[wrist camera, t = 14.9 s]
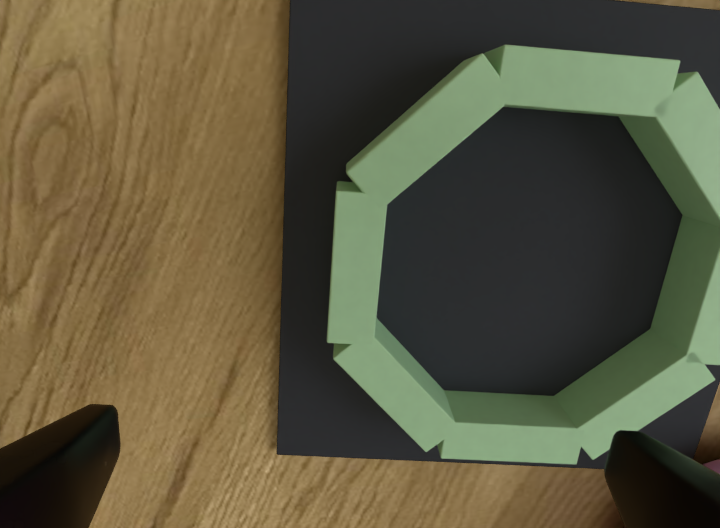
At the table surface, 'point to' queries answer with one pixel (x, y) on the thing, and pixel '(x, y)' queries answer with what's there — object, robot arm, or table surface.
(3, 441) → the table surface
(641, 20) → the mat
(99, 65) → the table surface
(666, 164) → the ring
